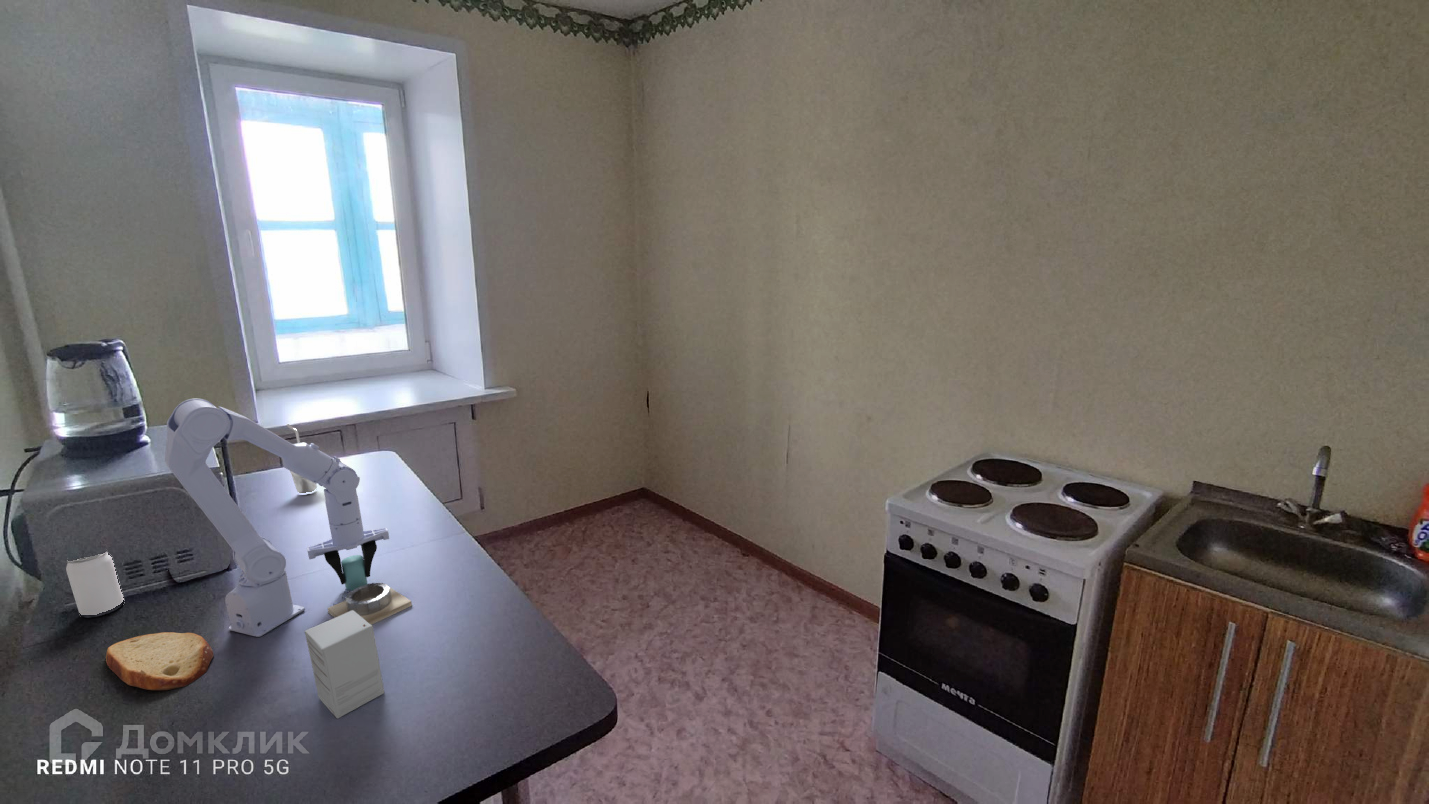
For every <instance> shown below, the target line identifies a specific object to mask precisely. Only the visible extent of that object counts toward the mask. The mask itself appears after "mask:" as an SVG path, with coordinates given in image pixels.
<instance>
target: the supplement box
mask: <svg viewBox="0 0 1429 804" xmlns="http://www.w3.org/2000/svg"><path fill="white" fill-rule="evenodd" d="M374 631H375V630H374V626H373V624H372V625H371V624H369V623H368V622H367V621H366V620H364V619H363V618H362V617H361V616H360V615H358V614H357V613H356V612H355V611H353V610H351V611H349V612H347V613H345V614H342V615H340V616H338V617H336V618H335V617H333V618H331V619H329V620H327V621H324V622H322V623H319V624H318V625H315V626H313V627H310V628H308V629H306V630H304V635H305V639H306V643H307V649H308V653H309V658H310V663H311V667H312V671H313V677H314V682H315V688H316V692H317V696H318V699H319V700H320V701H321V702H322V704H323V705H324V706H325V707H326V708H327V709H328V710H329V711H330V712H331V714H333V716H334V717H335V718H336V719H340V718H342V717H344V716H345V715H347V714H349V713H351V712H352V711H354V710H356V709H358V708H360V707H361V706H363V705H365V704H368V703H369V702H370V701H373V700H374V699H377V698H378V697H380V696H382V695H383V694H385V687H384V682H383V678H382V677H383V676H382V670H381V665H380V659H379V655H378V648H377V647H378V646H377V643H376V638H375V637H376V636H375V632H374Z"/></svg>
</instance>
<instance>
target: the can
mask: <svg viewBox="0 0 1429 804" xmlns="http://www.w3.org/2000/svg"><path fill="white" fill-rule="evenodd" d="M108 553H109V552H108V550H107V551H106V552H105V553H103V554H98V555H95V556H90V557H84V558H80V559H77V560H73V561H68V560H67V559H66V562H67V564H66V567H65V568H66V569H65V570H66V574H67V577H68V581H69V584H70V587H71V591H72V593H73V597H74V600H75V604H76V607H77V610H78V614H79V613H80V614H81V615H97V614H99V613H102V612H106V611H108V610H111V609H113V608H115V607H116V606H118V605H120V604H121V603H122V602H123V600H124V601H125V597H124V593H123V591H122V592H121V590H122V588H121V589H120V586H121V584H120V585H119V583H120V582H119V583H118V579H119V578H118V579H117V576H118V574H117V575H116V572H117V570H116V571H115V569H116V566H115V567H114V565H115V562H114V559H113V560H112V558H113V556H112V555H111V554H110V555H111V556H112V557H111V556H110V555H108ZM113 562H114V563H113ZM122 593H123V594H122ZM123 597H124V598H123ZM80 614H79V615H80Z"/></svg>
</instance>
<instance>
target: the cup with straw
mask: <svg viewBox="0 0 1429 804" xmlns="http://www.w3.org/2000/svg"><path fill="white" fill-rule="evenodd" d="M286 427H288V428H289V429H290V430H292V431H293V432H294V433H295V436H296V444H297V443H301V438H300V434H299V431H298V429H297V428H296V427H294V426H292V425H290V424H287V423H286ZM288 471H289V473H291V474H290V475H291V477H292V480H293V483H294V486H295V489H296V491H297V493H298V492H299V493H306V492H312V491H314V490H315V489H316V490H317V487H318V486H317V483H313V482H312V481H310V480H308V479H306V478H304V477H302V476H300V475H298V474H296V473H294V472H292V471H290V470H288Z"/></svg>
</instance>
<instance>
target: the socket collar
mask: <svg viewBox="0 0 1429 804" xmlns="http://www.w3.org/2000/svg"><path fill="white" fill-rule="evenodd" d="M389 587H390V586H389V585H388V584H387V583H382V582H374V583H373V582H372V583H367V585H364V586H361V587H358V588H356V589H354V590H353V591H350V592H348V594H347V595H346V597H345V598H344V599H345V600H346V606H347V611H348V612H349V611H351V610H353V611H355V612H356V613H357V614H358V615H360V616H363V615H370V614H373V613H376V612H378V611H380V610H382V609H384V608H385V607H387V606H388V605H389V604H390V602H391V600H392V598H391V592H390V588H391V587H390V588H389ZM370 597H376V598H373V599H371V600H368V601H362V600H364V599H367V598H370ZM345 600H344V601H345Z"/></svg>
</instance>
